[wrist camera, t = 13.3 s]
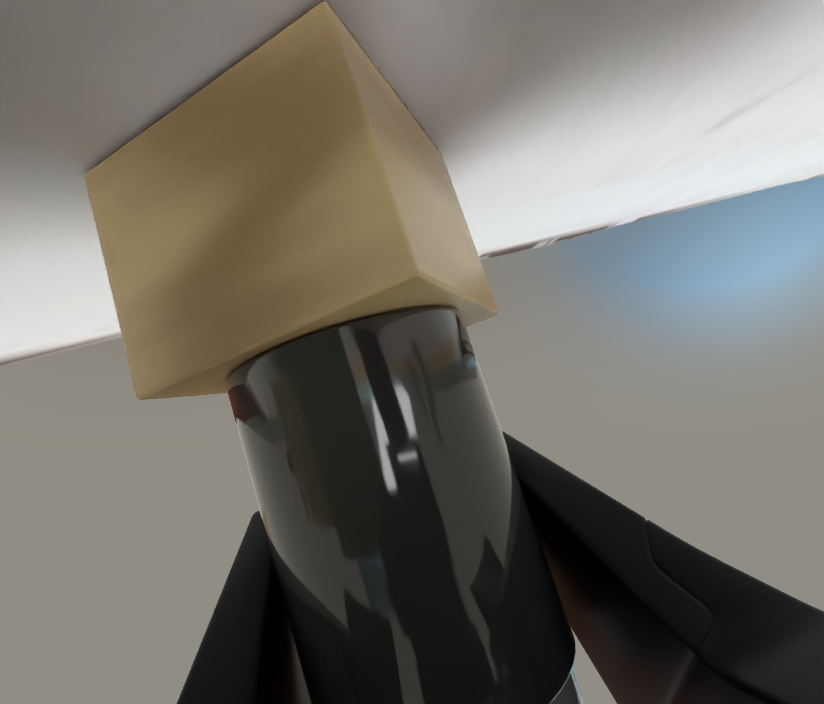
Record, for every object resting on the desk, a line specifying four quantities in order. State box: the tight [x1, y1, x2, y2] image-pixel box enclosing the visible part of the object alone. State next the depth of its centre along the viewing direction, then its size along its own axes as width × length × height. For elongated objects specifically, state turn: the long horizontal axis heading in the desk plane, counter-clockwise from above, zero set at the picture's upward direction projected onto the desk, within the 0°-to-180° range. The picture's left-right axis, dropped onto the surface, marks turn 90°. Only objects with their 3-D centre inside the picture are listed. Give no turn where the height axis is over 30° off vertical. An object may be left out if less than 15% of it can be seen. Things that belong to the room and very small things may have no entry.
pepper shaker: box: [226, 306, 584, 704], centre depth 8 cm, size 4×4×7 cm
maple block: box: [85, 1, 498, 400], centre depth 9 cm, size 5×5×4 cm
